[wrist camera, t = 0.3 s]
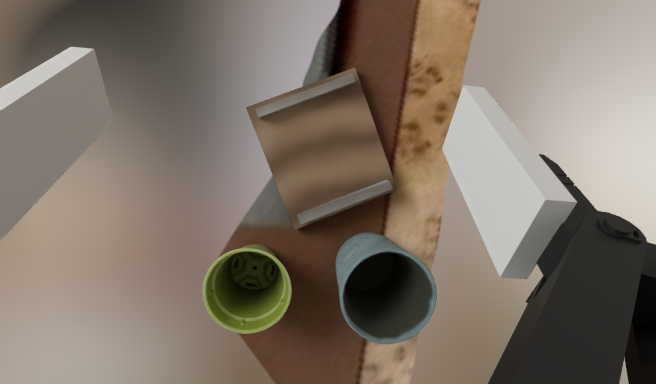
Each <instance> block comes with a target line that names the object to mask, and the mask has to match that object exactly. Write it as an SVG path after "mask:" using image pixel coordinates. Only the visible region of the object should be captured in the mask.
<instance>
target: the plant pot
mask: <svg viewBox="0 0 656 384" xmlns="http://www.w3.org/2000/svg"><path fill="white" fill-rule="evenodd" d="M237 259H239V262H238V266H237V269H235V262H236V260H237ZM273 265H274V274H273V275H272V276H271V275H270V274H271V271H272V266H273ZM254 266H256V267H257V269H256V270H254V269H253V267H254ZM246 283H250V284H256V286H248V285H247V284H246ZM291 293H292V288H291V281H290V278H289V275H288V272H287V271H286V269H285V267H284V266H283V264H282V263H281V262H280V261H279V260H278V259H277V258H276V256H275V254H274V253H273V252H272V251H271V250H270V249H269V248H267V247H265V246H263V245H259V244H251V245H247V246H244V247H242V248H241V249H236V250H232V251H230V252H228V253H226V254H224V255H222V256H221V257H220V258H218V259H217V260H216V261H215V262H214V263H213V264H212V265H211V267H210V268H209V270H208V272H207V274H206V276H205V279H204V283H203V299H204V303H205V306H206V308H207V311H208V312H209V314H210V316H211V317H212V318H213V319H214V320H215V321H216V322H217V323H218V324H219V325H220V326H222V327H224V328H226V329H228V330H230V331H233V332H237V333H255V332H259V331H263V330H265V329H267V328H269V327H271V326H272V325H274V324H275V323H276V322H278V321H279V320H280V319H281V317H282V316H283V315H284V313H285V312H286V310H287V308H288V306H289V303H290V300H291Z"/></svg>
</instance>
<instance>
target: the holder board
mask: <svg viewBox="0 0 656 384" xmlns="http://www.w3.org/2000/svg"><path fill="white" fill-rule="evenodd" d="M247 111H248V113H249V116H250V119H251V121H252V123H253V126H254V128H255V131H256V134H257V136H258V139H259V141H260V144H261V146H262V149H263V151H264V154H265V156H266V159H267V162H268V164H269V167H270V169H271V172H272V174H273V177H274V179H275V182H276V184H277V187H278V189H279V192H280V194H281V197H282V199H283V202H284V204H285V207H286V210H287V212H288V215H289V217H290V220H291V222H292V225H293V227H294V230H296V229H298V228H301V227H303V226H306V225H309V224H311V223H314V222H316V221H319V220H321V219H324V218H326V217H329V216H332V215H334V214H337V213H339V212H342V211H344V210H347V209H349V208H352V207H355V206H357V205H360V204H362V203H365V202H367V201H370V200H373V199H375V198H378V197H380V196H383V195H385V194H388V193H390V192H393V191H396V190H397V187H396V185H395V182H394V179H393V176H392V173H391V170H390V167H389V164H388V161H387V159H386V156H385V153H384V150H383V147H382V144H381V141H380V138H379V135H378V133H377V130H376V127H375V124H374V121H373V118H372V115H371V112H370V109H369V107H368V104H367V101H366V98H365V95H364V92H363V89H362V86H361V83H360V81H359V78H358V75H357V72H356V69H355V68H353V69H350V70H347V71H345V72H342V73H339V74H336V75H334V76H331V77H328V78H325V79H323V80H320V81H317V82H315V83H312V84H309V85H306V86H304V87H301V88H298V89H295V90H293V91H290V92H287V93H284V94H282V95H279V96H276V97H274V98H271V99H268V100H265V101H263V102H260V103H257V104H255V105H252V106H249V107H247Z"/></svg>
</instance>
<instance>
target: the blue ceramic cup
mask: <svg viewBox="0 0 656 384" xmlns="http://www.w3.org/2000/svg"><path fill="white" fill-rule="evenodd" d="M336 275H337V282H338V286H339V296H340V305H341V310H342V313H343V316H344V318H345V320H346V322H347V323H348V325H349V326H350V327H351V328H352V329H353V330H354V331H355V332H357V333H358V334H359V335H360V336H361V337H363V338H365V339H367V340H369V341H372V342H375V343H380V344H393V343H398V342H402V341H405V340H407V339H409V338H411V337H413V336H414V335H416V334H417V333H418V332H419V331H421V330H422V328H423V327H424V326H425V325H426V324H427V323H428V321H429V320H430V318H431V316H432V314H433V312H434V308H435V304H436V297H437V296H436V285H435V282H434V278H433V276H432V274H431V272H430V270H429V269H428V268H427V266H426V265H425V264H424V263H423V262H422V261H421V260H419V259H418V258H417V257H416V256H414V255H413V254H411V253H409V252H408V251H406V250H404V249H402V248H400V247H399V246H398V245H396V244H394V243H393V242H391V241H390V240H389V239H388V238H386V237H384V236H383V235H380V234H377V233H372V232H365V233H360V234H357V235H355V236H353V237H351V238H350V239H348V240H347V241H346V242H345V243H344V244H343V245H342V247H341V248H340V250H339V252H338V254H337V258H336Z"/></svg>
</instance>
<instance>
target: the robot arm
mask: <svg viewBox="0 0 656 384" xmlns="http://www.w3.org/2000/svg"><path fill="white" fill-rule="evenodd" d="M113 121H114V120H113V116H112V113H111V109H110V106H109V102H108V98H107V94H106V91H105V87H104V84H103V80H102V76H101V73H100V69H99V65H98V62H97V58H96V55H95V51H94V49H88V48H77V47H70V48H68V49H67V50H65V51H63V52H62V53H60V54H58V55H56V56H55V57H53V58H51V59H50V60H48V61H46V62H44V63H43V64H41V65H39V66H38V67H36V68H34V69H33V70H31V71H29V72H28V73H26V74H24V75H23V76H21V77H19V78H17V79H16V80H14V81H12V82H11V83H9V84H7V85H6V86H4V87H2V88H0V240H1V239H2V238H3V237H4V236H5V235H6V234H7V233H8V232H9V231H10V230H11V229H12V227H13V226H14V225H15V224H16V223H17V222H18V221H19V220H20V219H21V218H22V217H23V216H24V215H25V214H26V213H27V212H28V211H29V210H30V209H31V208H32V206H33V205H34V204H35V203H36V202H37V201H38V200H39V199H40V198H41V197H42V196H43V195H44V194H45V193H46V191H48V190H49V189H50V187H51V186H52V185H53V184H54V183H55V182H56V181H57V180H58V179H59V178H60V177H61V176H62V175H63V174H64V173H65V172H66V171H67V169H69V167H70V166H71V165H72V164H73V163H74V162H75V161H76V160H77V159H78V158H79V157H80V156H81V155H82V154H83V153H84V152H85V151H86V150H87V148H88V147H89V146H90V145H91V144H92V143H93V142H94V141H95V140H96V139H97V138H98V137H99V136H100V135H101V134H102V133H103V132H104V131H105V129H106V128H107V127H108V126H109V125H110V124H111V123H112V122H113ZM442 150H443V152H444V155H445V157H446V159H447V161H448V163H449V166H450V168H451V170H452V172H453V174H454V177H455V179H456V181H457V183H458V185H459V188H460V190H461V192H462V194H463V197H464V199H465V201H466V203H467V205H468V208H469V210H470V212H471V214H472V216H473V219H474V221H475V223H476V225H477V227H478V230H479V232H480V234H481V236H482V239H483V241H484V243H485V245H486V248H487V250H488V252H489V254H490V256H491V259H492V261H493V263H494V265H495V267H496V270H497V272H498V274H499V276H500V277H502V278H519V279H527V278H528V277H529V275H530V274H531V272H532V271H533V269H534V267H535V266H536V264H537V265H538V266H539V268H540V270H541V272H542V273H543V275H544V276H543V277H542V279H541V280H540V282H539V283H538V284H537V286H536V287H535V289H534V290H533V292H532V293H531V295H530V296H529V297H528V299H527V301H526V302H527V303H528V305H527V307H526V309H525V311H524V313H523V315H522V317H521V319H520V321H519V323H518V325H517V327H516V329H515V331H514V333H513V335H512V337H511V339H510V341H509V343H508V345H507V347H506V349H505V351H504V353H503V355H502V357H501V359H500V361H499V363H498V365H497V367H496V369H495V371H494V373H493V375H492V377H491V379H490V381H489V383H488V384H619V381H620V376H621V371H622V366H623V361H624V356H625V362H626V369H627V375H628V382H629V384H656V245H655V244H651V243H648V242H647V241H646V237H645V236H644V235H643V233H642V232H641V231H640V230H639V229H638V228H637V227H636V226H634V225H633V224H631V223H630V222H628V221H627V220H625V219H623V218H621V217H619V216H616V215H613V214H610V213H607V212H601V211H597V210H596V209H595V208H594V206H593V205H592V204H591V203H590V202H589V201H588V199H587V198H586V197H585V196H584V195H583V194H582V192H581V191H580V190H579V189H578V188H577V187H576V186H574V183H573V182H572V181H571V180H570V178H569V177H566V176H567V175H566V174H565V173H564V171H563V170H562V169H561V168H560V167H559V166H558V164H556V163H554V162H553V161H552V160H550V159H549V158H547V157H546V156H545V155H541V154H538V153H537V152H536V151H535V150H534V148H533V147H532V146H531V145H530V144H529V142H528V141H527V140H526V139H525V137H524V136H523V135H522V134H521V133H520V131H519V130H518V129H517V127H515V125H514V124H513V123H512V122H511V120H510V119H509V118H508V116H507V115H506V114H505V113H504V112H503V110H502V109H501V108H500V107H499V105H498V104H497V103H496V102H495V100H494V99H493V98H492V97H491V96H490V95H489V93H488V92H487V91H486V90H485V88H484V87H475V86H465V85H464V86H463V88H462V91H461V94H460V97H459V100H458V103H457V106H456V109H455V112H454V115H453V118H452V121H451V124H450V127H449V130H448V133H447V136H446V139H445V142H444V145H443V148H442Z"/></svg>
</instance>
